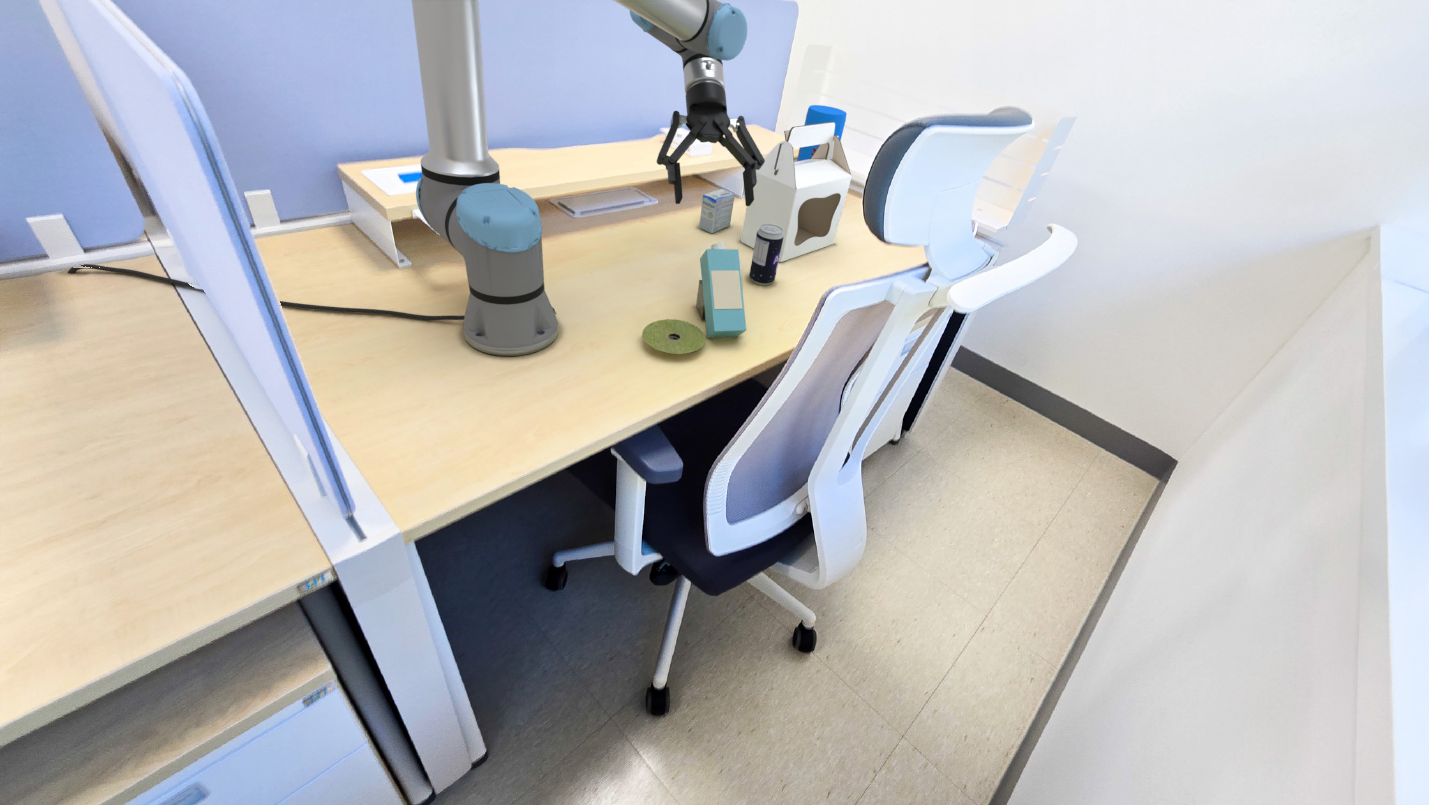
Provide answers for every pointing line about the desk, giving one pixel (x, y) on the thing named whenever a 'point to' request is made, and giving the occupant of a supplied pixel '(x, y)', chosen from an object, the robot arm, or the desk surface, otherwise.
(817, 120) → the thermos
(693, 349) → the green disc
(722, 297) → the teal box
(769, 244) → the beverage can
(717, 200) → the medicine box
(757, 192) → the gable box
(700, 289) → the walnut block
